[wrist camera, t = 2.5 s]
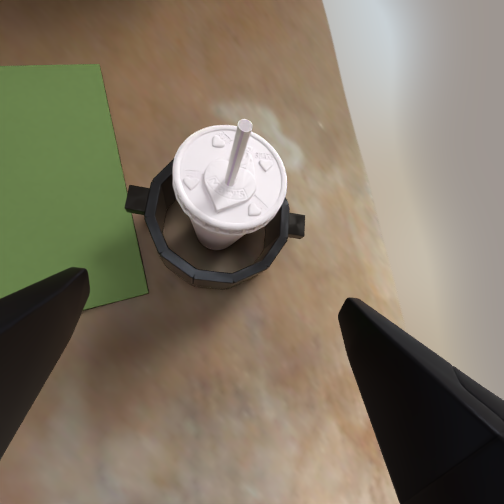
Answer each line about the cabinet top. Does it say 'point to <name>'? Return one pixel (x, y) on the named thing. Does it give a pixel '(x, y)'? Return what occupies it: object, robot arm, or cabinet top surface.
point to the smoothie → (228, 182)
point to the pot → (154, 211)
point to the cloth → (63, 184)
